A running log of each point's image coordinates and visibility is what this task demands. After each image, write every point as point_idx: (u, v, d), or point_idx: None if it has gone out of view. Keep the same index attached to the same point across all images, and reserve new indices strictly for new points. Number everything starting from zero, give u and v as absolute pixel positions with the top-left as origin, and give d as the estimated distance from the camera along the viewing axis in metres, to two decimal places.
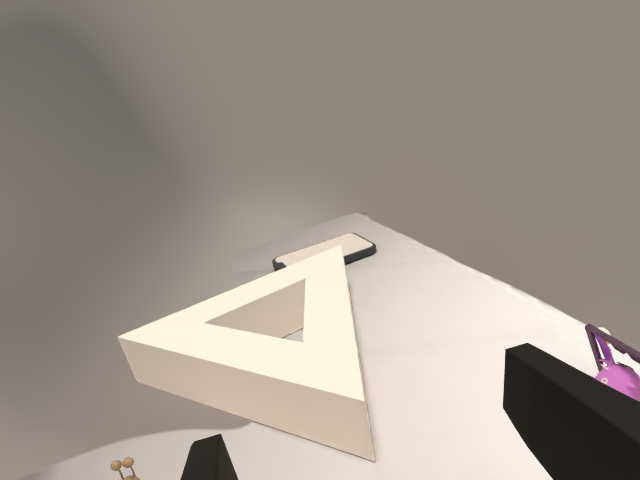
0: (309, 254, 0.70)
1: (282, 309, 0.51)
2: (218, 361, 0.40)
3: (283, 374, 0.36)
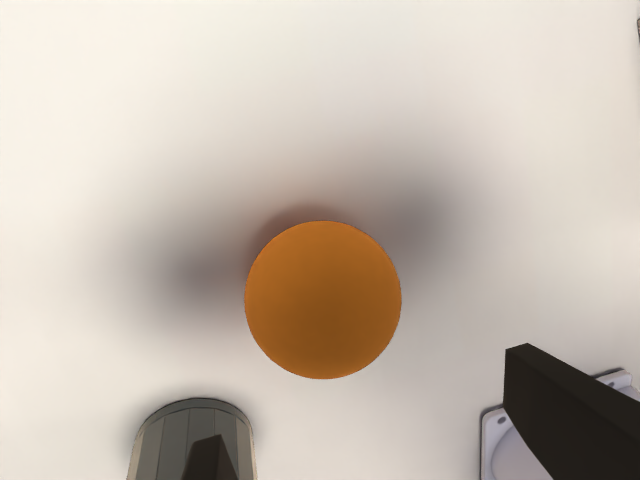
0: None
1: None
2: None
3: None
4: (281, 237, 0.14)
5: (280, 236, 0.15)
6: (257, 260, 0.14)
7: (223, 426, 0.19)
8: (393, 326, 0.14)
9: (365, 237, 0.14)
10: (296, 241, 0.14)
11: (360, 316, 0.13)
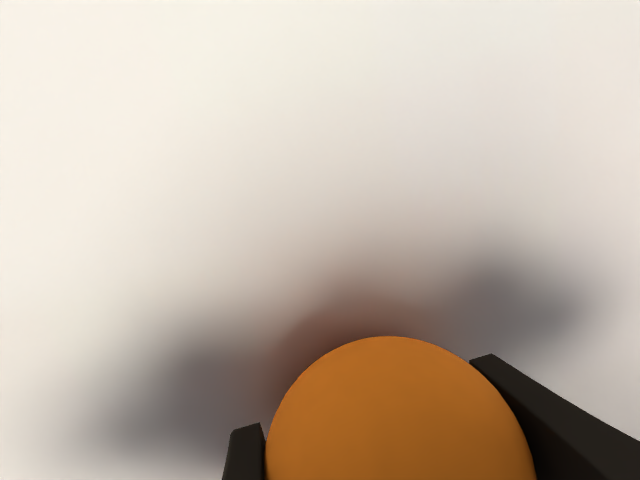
0: None
1: None
2: None
3: None
4: (328, 384, 0.08)
5: (326, 379, 0.08)
6: (286, 422, 0.08)
7: None
8: None
9: (476, 383, 0.08)
10: (360, 404, 0.07)
11: None
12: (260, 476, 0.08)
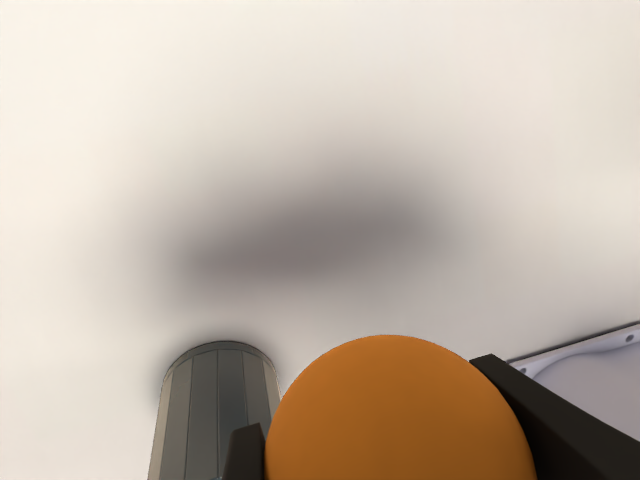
0: None
1: None
2: None
3: None
4: (328, 383, 0.08)
5: (326, 378, 0.08)
6: (286, 421, 0.08)
7: (251, 366, 0.19)
8: None
9: (476, 381, 0.08)
10: (361, 402, 0.07)
11: None
12: (260, 476, 0.08)
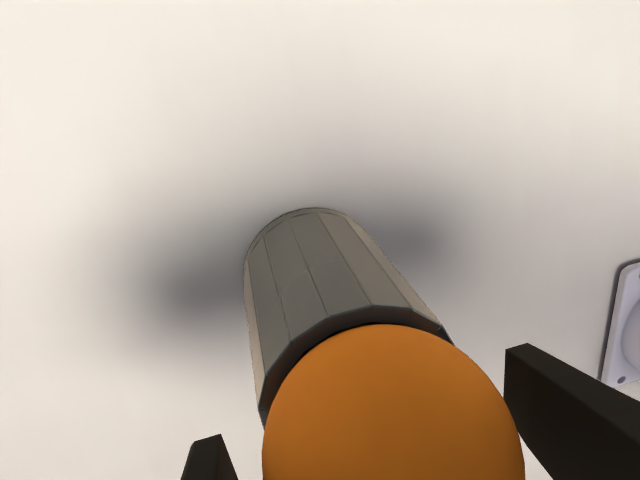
0: None
1: None
2: None
3: None
4: (325, 370, 0.08)
5: (323, 365, 0.09)
6: (284, 407, 0.09)
7: (358, 230, 0.15)
8: None
9: (466, 367, 0.09)
10: (356, 387, 0.08)
11: None
12: None
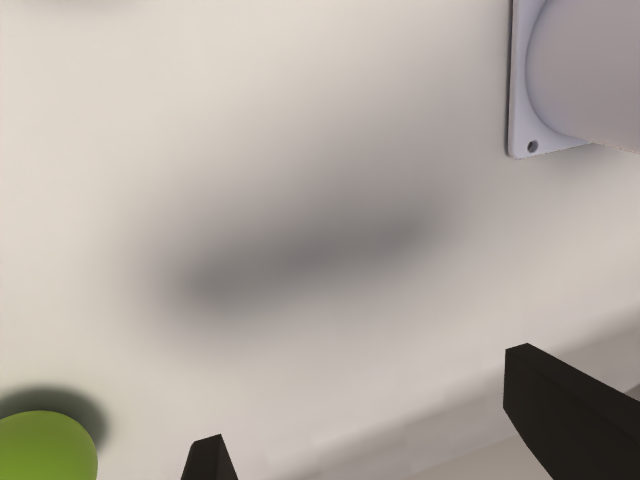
0: None
1: None
2: None
3: None
4: None
5: None
6: None
7: None
8: None
9: None
10: None
11: None
12: None
